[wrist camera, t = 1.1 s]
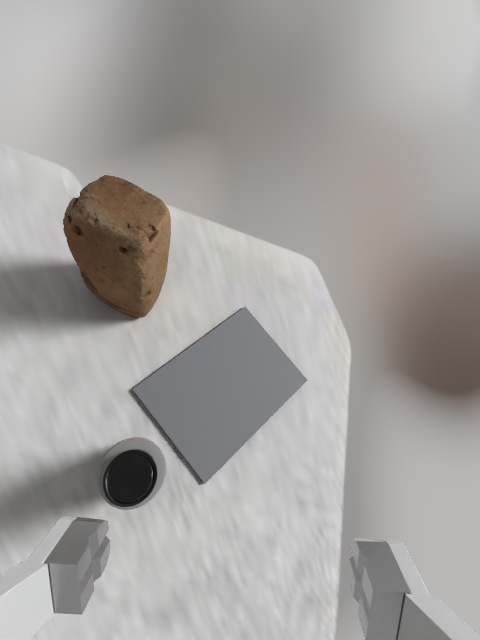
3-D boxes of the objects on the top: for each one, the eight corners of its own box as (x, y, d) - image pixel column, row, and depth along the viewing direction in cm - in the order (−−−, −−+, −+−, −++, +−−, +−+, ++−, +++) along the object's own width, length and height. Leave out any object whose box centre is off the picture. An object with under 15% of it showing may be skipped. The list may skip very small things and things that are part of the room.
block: (167, 289, 50) (181, 203, 32) (144, 326, 47) (145, 254, 29) (106, 257, 49) (85, 150, 31) (77, 293, 45) (35, 198, 28)
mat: (204, 483, 41) (204, 483, 41) (132, 389, 43) (132, 389, 42) (305, 380, 51) (307, 380, 50) (244, 308, 53) (245, 306, 52)
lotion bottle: (133, 498, 38) (124, 545, 21) (102, 464, 39) (68, 481, 21) (167, 461, 41) (186, 474, 23) (138, 429, 41) (135, 419, 23)
